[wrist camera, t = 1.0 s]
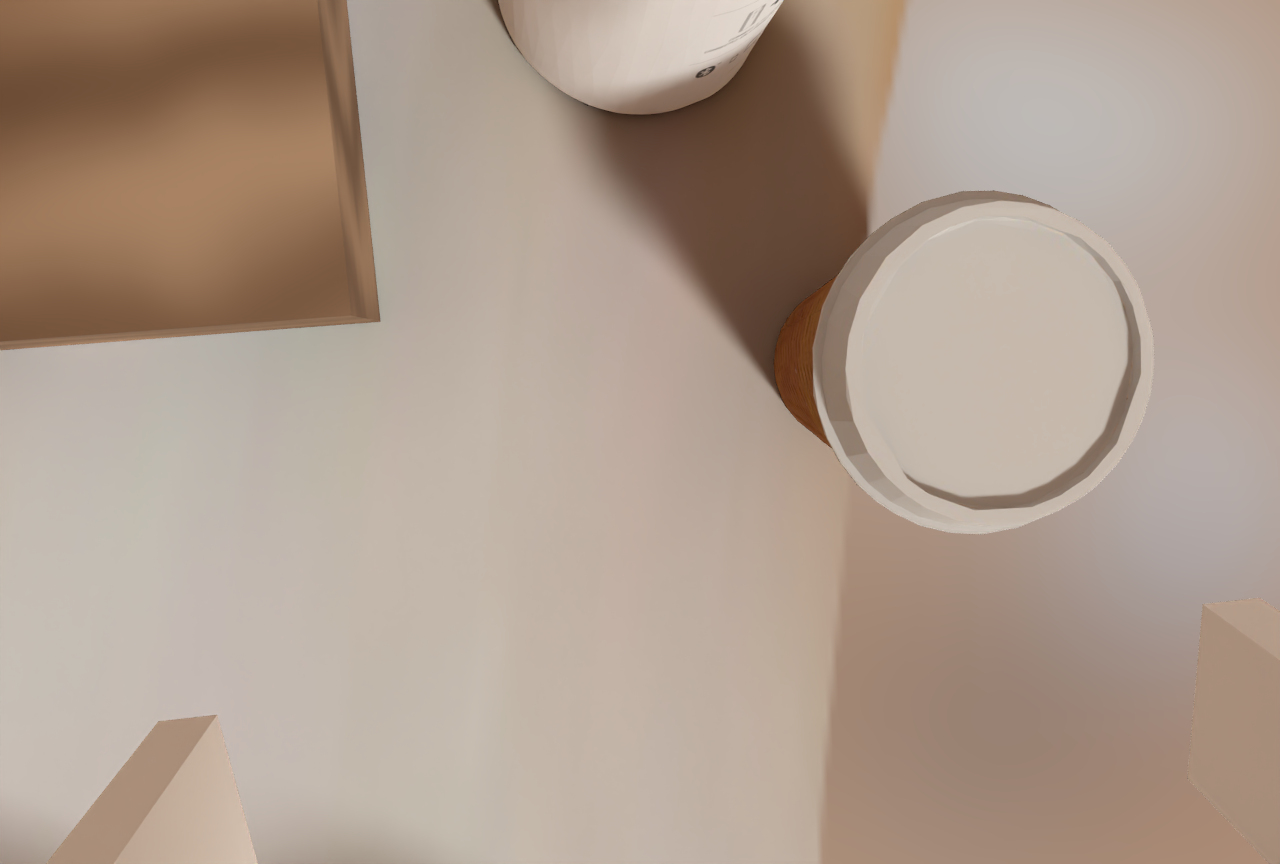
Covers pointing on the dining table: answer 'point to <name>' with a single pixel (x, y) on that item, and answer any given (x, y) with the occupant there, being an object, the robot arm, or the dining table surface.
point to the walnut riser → (179, 170)
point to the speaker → (637, 47)
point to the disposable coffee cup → (973, 362)
